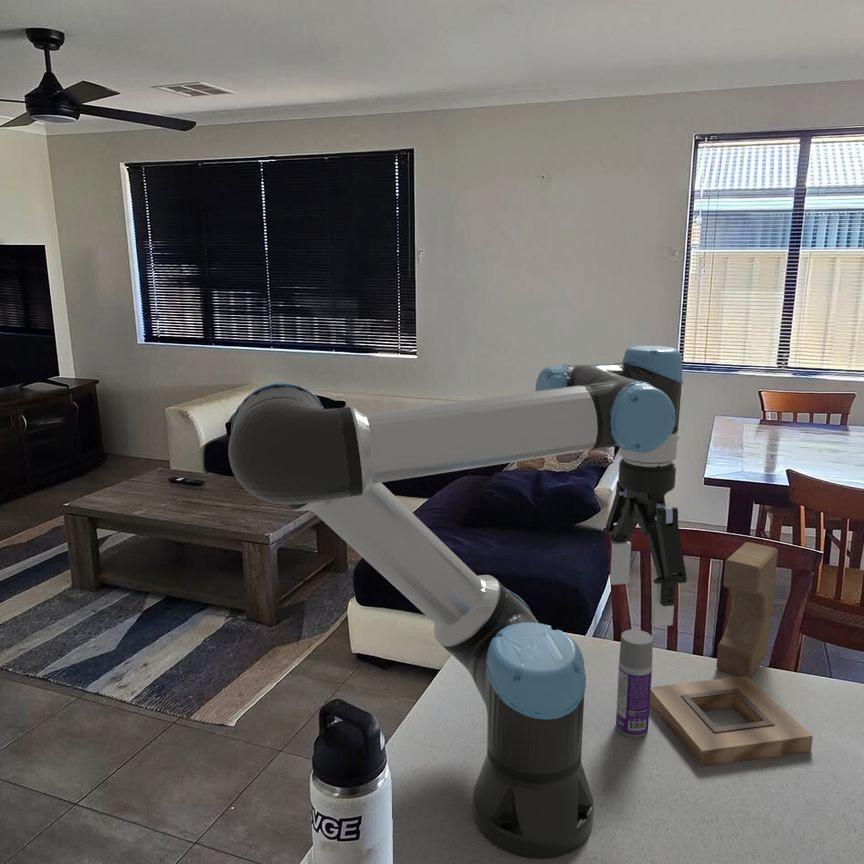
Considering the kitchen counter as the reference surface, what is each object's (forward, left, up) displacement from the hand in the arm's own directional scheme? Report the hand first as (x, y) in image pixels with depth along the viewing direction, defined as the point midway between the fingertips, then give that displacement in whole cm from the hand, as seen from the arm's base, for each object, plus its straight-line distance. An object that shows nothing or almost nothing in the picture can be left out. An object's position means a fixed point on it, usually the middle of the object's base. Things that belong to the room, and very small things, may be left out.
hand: (639, 602), depth 108 cm
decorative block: (+27, +14, -20) cm, 37 cm away
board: (+14, -2, -20) cm, 25 cm away
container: (0, 0, -20) cm, 21 cm away
